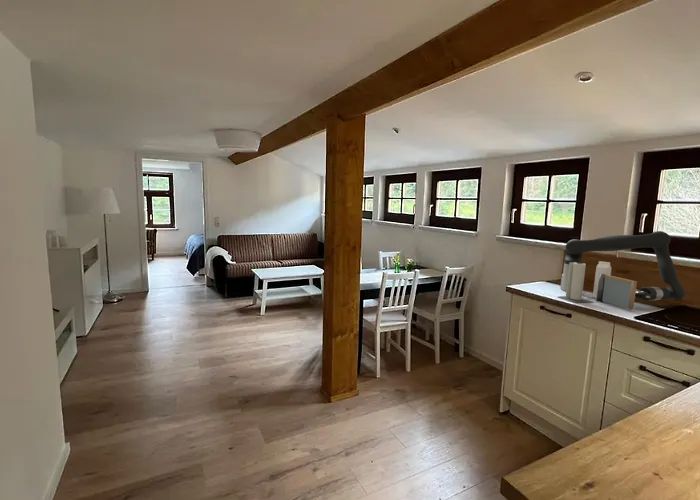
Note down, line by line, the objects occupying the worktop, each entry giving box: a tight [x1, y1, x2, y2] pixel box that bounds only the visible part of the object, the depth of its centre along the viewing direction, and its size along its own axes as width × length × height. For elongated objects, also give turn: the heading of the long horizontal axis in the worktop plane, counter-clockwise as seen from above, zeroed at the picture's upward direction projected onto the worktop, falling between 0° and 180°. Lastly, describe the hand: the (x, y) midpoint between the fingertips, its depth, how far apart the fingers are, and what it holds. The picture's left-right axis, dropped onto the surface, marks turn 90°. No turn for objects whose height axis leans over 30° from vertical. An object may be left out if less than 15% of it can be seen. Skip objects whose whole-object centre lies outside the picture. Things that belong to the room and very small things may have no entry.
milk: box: [592, 260, 612, 299], centre depth 224 cm, size 6×6×22 cm
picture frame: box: [602, 275, 638, 310], centre depth 205 cm, size 18×2×15 cm, turn 13°
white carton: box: [565, 262, 587, 300], centre depth 218 cm, size 7×6×21 cm
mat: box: [557, 295, 594, 304], centre depth 219 cm, size 13×13×1 cm
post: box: [595, 274, 606, 303], centre depth 216 cm, size 3×3×16 cm
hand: (626, 294), depth 206 cm, fingers closed
